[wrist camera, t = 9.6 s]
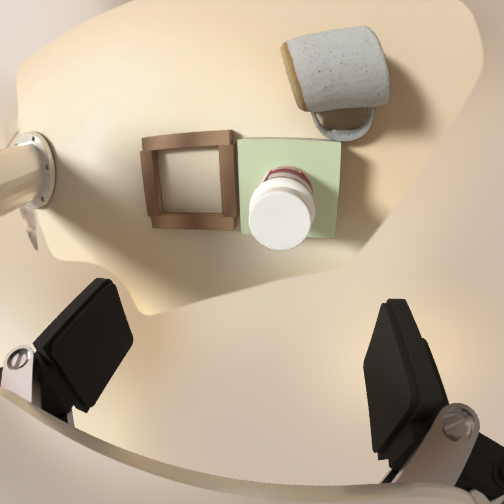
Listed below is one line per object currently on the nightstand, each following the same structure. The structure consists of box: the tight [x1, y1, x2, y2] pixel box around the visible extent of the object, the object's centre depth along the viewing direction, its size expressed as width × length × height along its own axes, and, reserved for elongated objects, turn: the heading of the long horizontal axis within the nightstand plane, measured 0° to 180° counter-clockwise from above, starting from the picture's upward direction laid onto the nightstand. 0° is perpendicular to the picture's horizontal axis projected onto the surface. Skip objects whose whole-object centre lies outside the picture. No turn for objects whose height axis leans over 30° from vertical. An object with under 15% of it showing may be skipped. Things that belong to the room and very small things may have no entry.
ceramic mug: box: [281, 26, 390, 142], centre depth 20 cm, size 11×8×8 cm
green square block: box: [237, 137, 341, 239], centre depth 27 cm, size 9×9×4 cm
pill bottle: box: [249, 165, 316, 250], centre depth 22 cm, size 5×5×8 cm
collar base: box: [140, 130, 239, 230], centre depth 30 cm, size 11×11×1 cm
